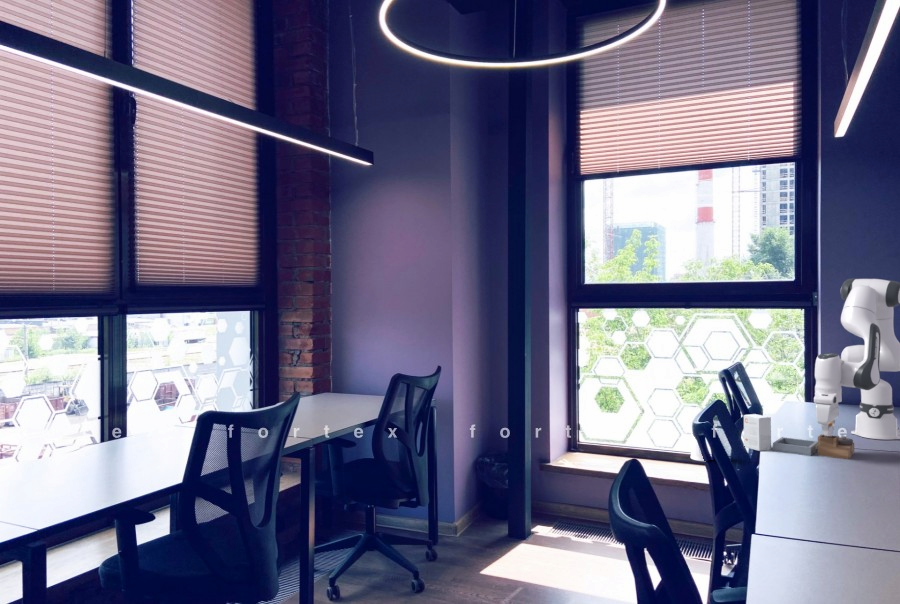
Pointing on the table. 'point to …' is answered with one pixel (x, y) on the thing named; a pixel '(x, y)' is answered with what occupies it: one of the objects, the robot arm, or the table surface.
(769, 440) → the small box
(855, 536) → the table surface
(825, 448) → the wooden holder block
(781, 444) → the tray
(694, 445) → the mug
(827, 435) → the lock pin
